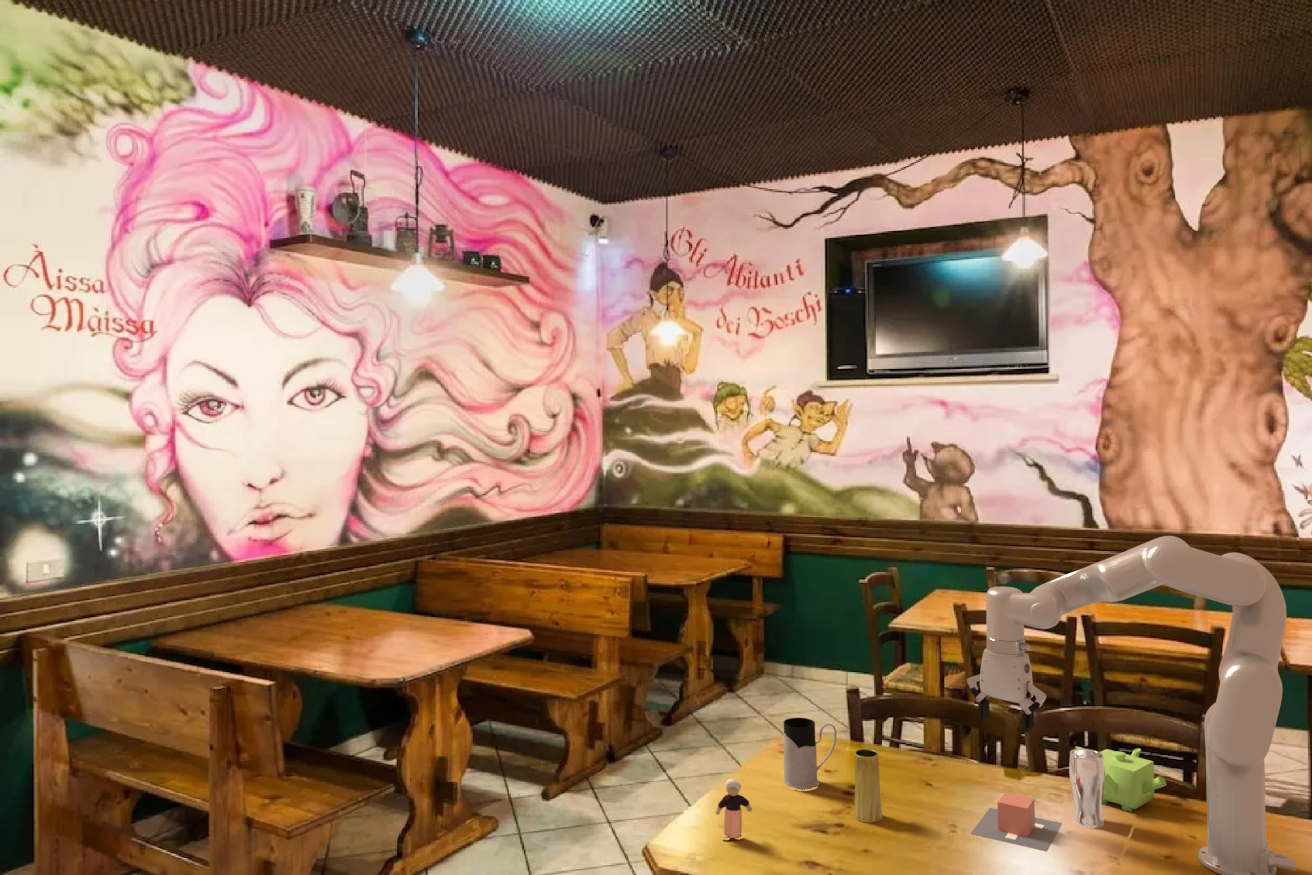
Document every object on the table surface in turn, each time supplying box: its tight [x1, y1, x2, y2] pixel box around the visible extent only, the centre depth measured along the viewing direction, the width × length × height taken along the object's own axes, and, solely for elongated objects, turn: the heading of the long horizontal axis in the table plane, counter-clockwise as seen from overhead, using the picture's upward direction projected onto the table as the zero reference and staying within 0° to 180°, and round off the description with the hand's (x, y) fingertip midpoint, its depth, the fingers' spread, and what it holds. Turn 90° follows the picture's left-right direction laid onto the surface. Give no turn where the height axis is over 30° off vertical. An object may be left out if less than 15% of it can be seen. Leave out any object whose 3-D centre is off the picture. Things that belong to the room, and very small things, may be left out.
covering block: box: [997, 791, 1036, 837], centre depth 192 cm, size 6×6×6 cm
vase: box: [853, 748, 883, 824], centre depth 200 cm, size 6×6×14 cm
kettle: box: [1074, 746, 1167, 812], centre depth 204 cm, size 15×14×11 cm
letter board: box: [970, 807, 1063, 852], centre depth 192 cm, size 15×15×1 cm
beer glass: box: [1068, 748, 1105, 829], centre depth 194 cm, size 7×7×15 cm
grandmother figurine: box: [714, 777, 753, 839], centre depth 192 cm, size 8×4×13 cm, turn 105°
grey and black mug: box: [782, 717, 837, 790], centre depth 220 cm, size 9×14×15 cm, turn 107°
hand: (1005, 725), depth 194 cm, fingers open, 9 cm apart
